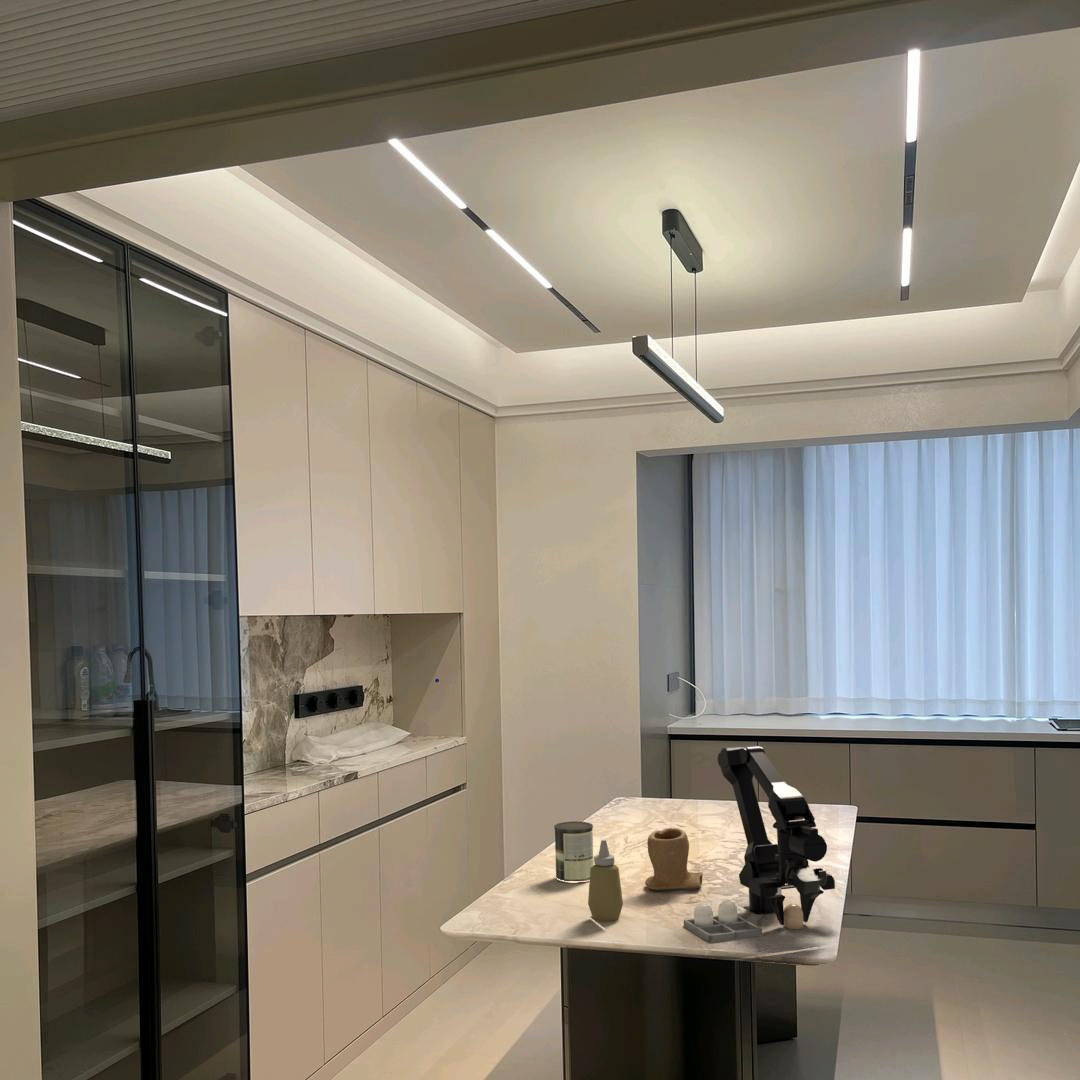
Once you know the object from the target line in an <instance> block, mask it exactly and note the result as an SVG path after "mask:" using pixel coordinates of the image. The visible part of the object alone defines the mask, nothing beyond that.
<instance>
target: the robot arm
mask: <svg viewBox="0 0 1080 1080" xmlns="http://www.w3.org/2000/svg"><path fill="white" fill-rule="evenodd" d="M717 763H718V765H719V768H720V770H721V772H722V776H723V777H724V779H726V781H727V782H729V784H731V786H732V788H733V793H734V797H735V800H736V801H735V802H736V804H737V808H738V811H739V816H740V819H741V823H742V827H743V831H744V834H745V835H744V836H745V839H746V844H747V845H746V849H745V853H744V855H743V860H744V866H743V867H742V869H741V871H740V872H739V874H738V877H739V878H738V879H739V883H740V885H742V886H744V887H746V888H747V889H748V906H743V909H744V910H746V911H748V912H751V913H752V914H754V915H757V916H759V915H765V914H766V915H767V914H775V916H776V918H777V921H778V923H779V925H780V926H784V909H785V908H784V900H785V899H786V895H784V894H782V890H789V889H790V890H791V889H796V891H797V893H799V899H800V900H799V901H800V908H801V909H802V911H803V923H808V922H809V918H810V915H811V912H812V909H813V906H814V903H815V901H816V899H817V898H818V897H819V896H820V895H823V894H824V893H825V892H824V891H829V890H834V889H836V879H835V878H834V876H833V875H832V874H829V873H827V870H826V869H825V868H824V867H816V868H813V867H812V868H811V867H810V865H809V861H811V862H820V861H821V860H822V859H824V857H826V854H827V851H828V846H827V845H828V844H827V842H826V840H825V838H824V837H823V836H822V835H821V834H819V829H818V828H816V827H817V824H816V822H815V819H816V818H815V816H814V814H813V813H812V811H811V809H810V806H809V803H808V801H807V800H806V798H805V796H804V795H803V794H802V793H800V791H799V790H798V788H797V789H796V787H792V786H791V785H788V784H787V783H786V782H785V780H784V779H783V778H782V777H781V774H780V773H779V772H778V770H777V769H776V768H775V767H774V765H773V764H772V762H771V761H770V759H769V758H768V756H767V755H766V751H765V749H764V747H762V746H759V745H754V746H733V747H732V746H731V747H730V746H729V747H723V748H722V749H721V750H720V752H719V753H718V754H717ZM753 778H755V780H756V781H757V782H758V784H759V786H760V787H761V788H762V790H763V791H764V793H765V794H766V796H767V798H768V803H767V806H768V810H769V811H770V813H771V816H772V818H773V819H774V820H775V822H774V823H773V824H772V828H773V829H775V830H776V838H777V839H776V842H777V843H774V844H773V843H772V842H771V841H770V839H769V838H768V835H767V834H768V833H767V831H766V827H765V823H764V819H763V816H762V811H761V808H760V803H759V801H758V797H757V793H756V790H755V789H756V788H755V785H754V782H753Z"/></svg>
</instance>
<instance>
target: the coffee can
mask: <svg viewBox="0 0 1080 1080" xmlns="http://www.w3.org/2000/svg"><path fill="white" fill-rule="evenodd" d="M593 828H594V826H593V824H592V823H591V822H586V821H575V820H574V821H565V822H563V821H562V822H558V823H556V824H555V825H554V845H555V847H554V848H555V851H554V852H555V878H556V877H557V878H558V879H560V880H564V881H587V880H590V868H591V867H592V866H593V865H594V844H593V843H594V840H593V839H594V837H593Z"/></svg>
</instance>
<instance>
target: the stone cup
mask: <svg viewBox="0 0 1080 1080" xmlns="http://www.w3.org/2000/svg"><path fill="white" fill-rule="evenodd" d="M689 852H690V841H689V837H688V835H687V833H686V831H684V830H683V829H681V828H676V827H668V828H665V829H663V830H655V831H653V832H651V833H650V834H649V835H648V838H647V853H648V857H649V859H650V863H651V865H652V868H653V875H652V876H649V877H648V878H646V879H645V882H644V885H645V886H646V887H647V888H648V889H650V890H654V891H655V890H656V891H671V890H672V891H675V890H691V889H692V890H693V889H694V890H695V889H701V887H702V885H703V878H704V876H703V875H704V874H703V872H700V871H699V872H690V871H688V859H689V854H690V853H689Z"/></svg>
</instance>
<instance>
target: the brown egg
mask: <svg viewBox="0 0 1080 1080" xmlns="http://www.w3.org/2000/svg"><path fill="white" fill-rule="evenodd" d="M783 909H784V925H783V927H785V928H787V929H790V930H791V929H792V930H800V929H803V928H804V925H805V924H804V921H803V911H802V909H801V905H798V904H796V903H789V904H787V905H786V906H785V907H784V908H783Z"/></svg>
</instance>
